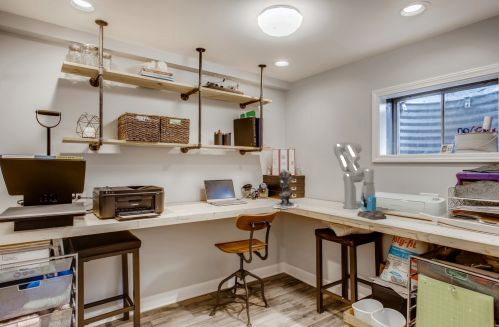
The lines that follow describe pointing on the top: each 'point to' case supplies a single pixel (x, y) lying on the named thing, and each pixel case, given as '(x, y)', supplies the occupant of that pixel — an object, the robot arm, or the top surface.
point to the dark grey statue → (285, 191)
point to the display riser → (371, 215)
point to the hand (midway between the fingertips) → (368, 206)
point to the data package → (369, 204)
